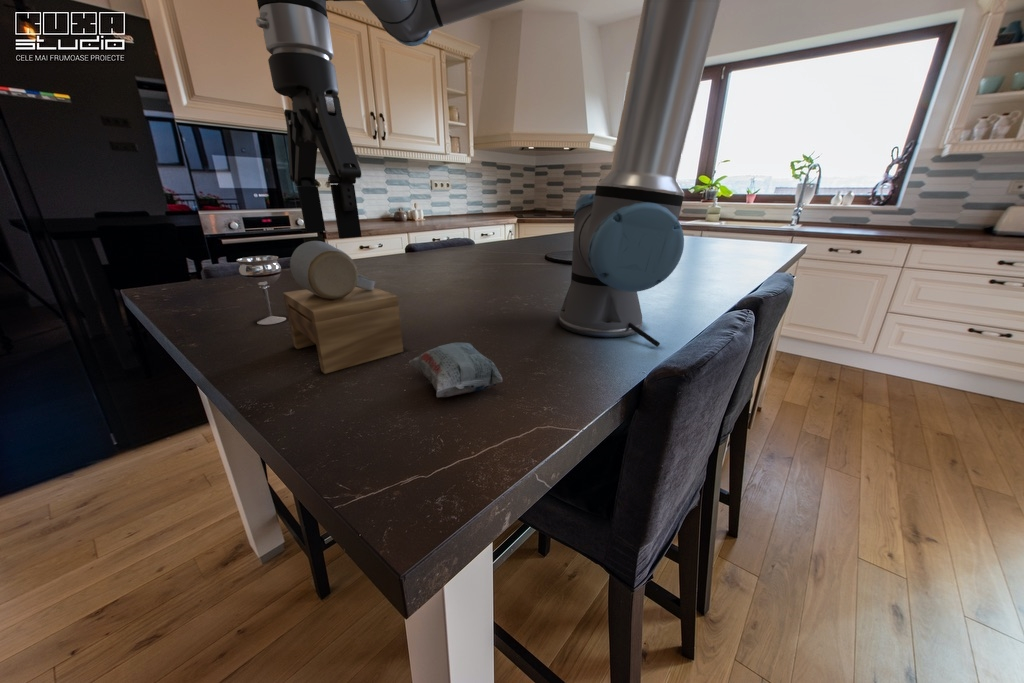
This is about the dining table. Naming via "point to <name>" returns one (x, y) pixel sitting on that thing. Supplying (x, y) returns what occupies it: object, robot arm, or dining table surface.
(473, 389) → the packaged food
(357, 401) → the dining table surface
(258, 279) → the wineglass
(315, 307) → the oak stool
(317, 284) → the ceramic mug
